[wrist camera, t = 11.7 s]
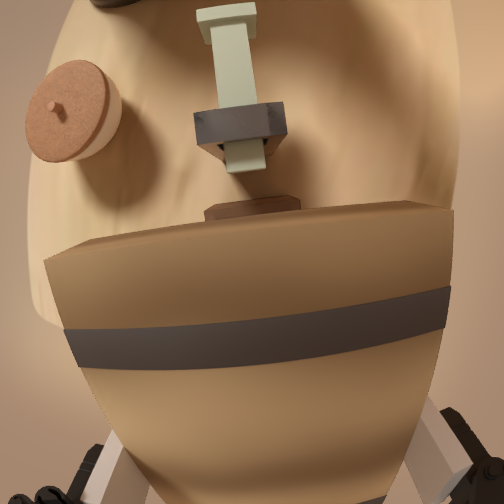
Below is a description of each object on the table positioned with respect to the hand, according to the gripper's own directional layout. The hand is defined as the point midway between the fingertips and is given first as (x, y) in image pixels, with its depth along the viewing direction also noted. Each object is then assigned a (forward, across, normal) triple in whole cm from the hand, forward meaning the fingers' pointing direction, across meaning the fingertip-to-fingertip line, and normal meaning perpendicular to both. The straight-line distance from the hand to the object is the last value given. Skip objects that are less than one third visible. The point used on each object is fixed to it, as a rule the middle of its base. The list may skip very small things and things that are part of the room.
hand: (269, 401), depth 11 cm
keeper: (+22, 0, +12) cm, 25 cm away
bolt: (+12, 0, +16) cm, 20 cm away
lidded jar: (+22, -17, +19) cm, 34 cm away
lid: (-1, 0, 0) cm, 1 cm away
